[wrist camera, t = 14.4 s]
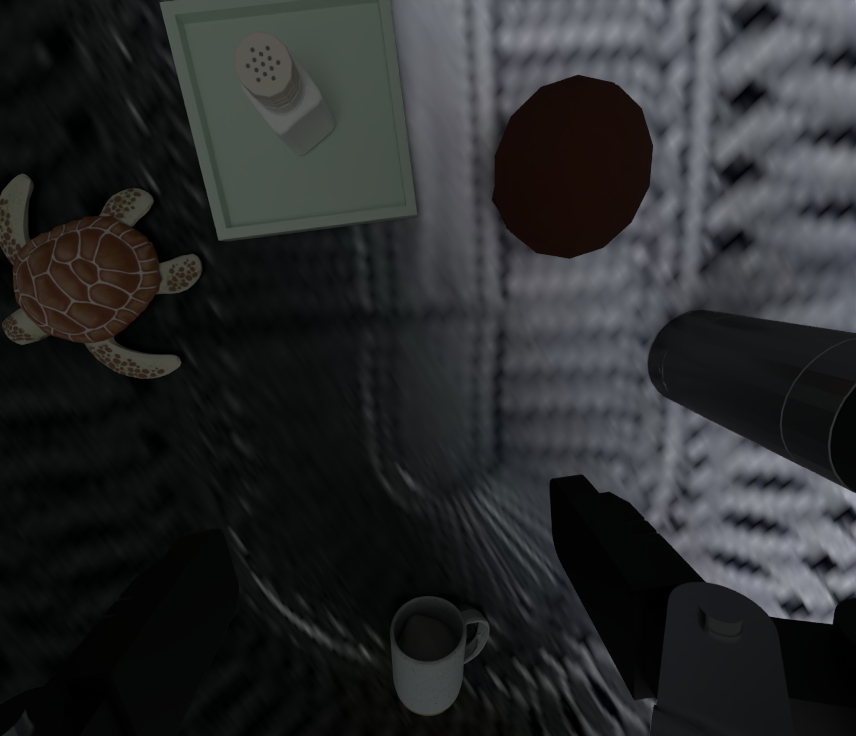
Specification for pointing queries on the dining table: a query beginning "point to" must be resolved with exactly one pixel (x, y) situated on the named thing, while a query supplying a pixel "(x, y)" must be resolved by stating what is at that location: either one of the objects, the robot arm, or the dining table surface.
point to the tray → (262, 149)
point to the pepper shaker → (282, 91)
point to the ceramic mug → (432, 652)
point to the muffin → (573, 166)
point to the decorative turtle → (89, 278)
